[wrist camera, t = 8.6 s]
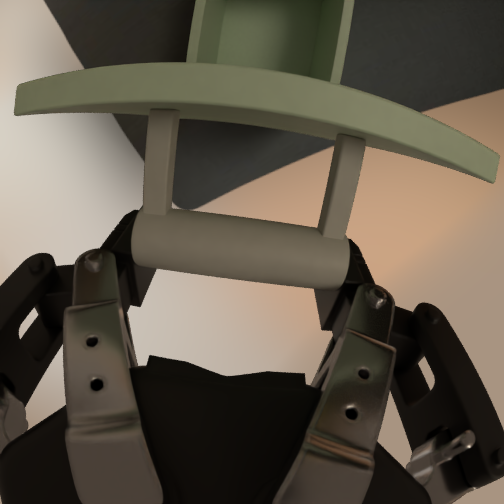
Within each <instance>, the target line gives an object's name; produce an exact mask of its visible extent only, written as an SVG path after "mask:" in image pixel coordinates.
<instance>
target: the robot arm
mask: <svg viewBox="0 0 504 504" xmlns="http://www.w3.org/2000/svg"><path fill="white" fill-rule="evenodd" d="M142 207H143V206H142ZM142 207H141V208H142ZM141 208H140V209H141ZM139 211H140V210H133V211H131V212H130V213H128V214H126V215H125V216H124V217H123V218H122V220H121V221H120V222H119V224H118V225H117V226H116V227H115V229H114V230H113V231H112V232H111V234H110V235H109V236H108V238H107V239H106V240H105V242H104V243H103V244H102V246H101V247H100V248H98V249H92V250H89V251H86V252H85V253H83V254H81V255H80V256H79V257H78V258H77V260H76V262H75V264H73V265H62V266H56V264H55V261H54V258H53V257H52V255H50V254H48V253H38V254H35V255H32V256H31V257H29V258H27V259H26V260H25V261H24V262H23V263H22V264H21V265H20V266H19V267H18V268H17V269H16V270H15V271H14V272H13V273H12V274H11V275H10V276H9V277H8V278H7V279H6V280H5V282H4V283H3V284H2V285H1V286H0V496H1V501H2V504H452V503H453V502H455V501H456V500H458V499H459V498H461V497H462V496H463V495H465V494H466V493H468V492H470V491H473V490H475V489H478V488H480V487H482V486H485V485H487V484H489V483H491V482H493V481H496V480H498V479H500V478H501V477H503V476H504V430H503V427H502V425H501V423H500V420H499V418H498V415H497V413H496V410H495V408H494V406H493V404H492V401H491V399H490V397H489V395H488V393H487V391H486V389H485V387H484V385H483V383H482V381H481V378H480V377H479V375H478V373H477V371H476V369H475V367H474V365H473V363H472V361H471V359H470V358H469V356H468V354H467V352H466V351H465V349H464V347H463V345H462V343H461V342H460V340H459V338H458V337H457V335H456V333H455V332H454V330H453V328H452V327H451V326H450V323H449V322H448V320H447V319H446V317H445V316H444V315H443V313H442V312H441V311H440V310H439V309H438V308H437V307H435V306H434V305H432V304H429V303H420V304H418V305H417V306H416V308H415V309H414V311H413V312H412V311H409V310H406V309H403V308H400V307H397V306H395V301H394V299H393V297H392V295H391V294H390V293H389V292H388V291H387V290H386V289H384V288H383V287H381V286H379V285H376V284H375V282H374V280H373V278H372V276H371V273H370V271H369V269H368V266H367V264H365V260H364V258H363V257H362V253H361V251H360V249H359V247H358V246H357V245H356V244H355V243H354V242H353V241H352V240H351V239H348V241H349V248H350V258H349V266H348V271H347V275H346V278H345V280H344V282H343V284H342V286H341V287H340V288H339V289H337V290H335V291H332V290H322V289H314V292H315V298H316V302H317V308H318V314H319V319H320V324H321V330H327V331H332V333H333V337H332V339H331V340H330V342H329V344H328V347H327V349H326V352H325V355H324V356H323V359H322V361H321V363H320V366H319V368H318V370H317V373H316V375H315V377H314V379H313V381H312V383H311V385H306V382H305V373H286V372H270V371H266V372H259V373H252V374H244V375H236V376H224V375H220V374H218V373H215V372H212V371H209V370H207V369H204V368H201V367H199V366H196V365H194V364H191V363H189V362H185V361H179V360H173V359H167V358H162V357H157V356H152V355H150V356H149V358H148V362H147V365H146V366H138V363H137V359H136V355H135V350H134V345H133V340H132V335H131V329H130V324H129V318H128V314H127V312H128V309H129V307H130V305H132V306H137V307H141V305H142V302H143V300H144V297H145V295H146V292H147V290H148V288H149V285H150V283H151V281H152V278H153V276H154V274H155V272H156V269H157V268H150V267H144V266H139V265H137V264H136V263H135V262H134V260H133V257H132V251H131V238H132V230H133V226H134V222H135V219H136V216H137V214H138V212H139ZM34 307H35V309H36V311H37V313H38V316H37V318H36V319H35V320H34V322H33V323H32V324H31V326H30V327H29V328H28V330H27V331H26V332H25V334H24V335H23V337H22V338H21V339H20V338H19V328H20V325H21V324H22V322H23V321H24V320H25V318H26V317H27V316H28V315H29V313H30V312H31V310H32V309H33V308H34ZM62 344H63V367H64V384H65V397H66V405H65V406H64V407H62V408H61V409H59V410H58V411H56V412H55V413H53V414H52V415H50V416H49V417H47V418H46V419H44V420H43V421H41V422H40V423H38V424H36V425H35V426H33V427H32V428H30V429H29V430H27V429H28V422H27V420H26V411H25V407H26V405H27V403H28V401H29V399H30V398H31V396H32V394H33V392H34V390H35V389H36V387H37V385H38V383H39V382H40V380H41V378H42V376H43V375H44V373H45V371H46V370H47V368H48V367H49V365H50V363H51V362H52V360H53V358H54V357H55V355H56V354H57V352H58V351H59V349H60V347H61V346H62ZM424 356H425V358H426V360H427V362H428V364H429V366H430V368H431V370H432V372H433V374H434V378H435V384H434V387H433V388H432V390H431V391H430V389H429V387H428V384H427V382H426V380H425V377H424V375H423V373H422V371H421V369H420V367H419V365H418V363H419V361H420V360H421V359H422V358H423V357H424ZM389 391H391V394H392V396H393V399H394V402H395V404H396V407H397V410H398V413H399V415H400V418H401V421H402V424H403V427H404V429H405V432H406V435H407V438H408V441H409V444H410V447H411V450H412V455H411V460H410V462H409V463H408V464H407V466H406V469H405V468H404V467H403V466H402V465H401V464H400V463H399V462H398V461H397V460H396V459H394V457H392V456H391V455H390V454H389V453H388V452H387V451H386V450H385V449H384V448H383V447H382V446H381V445H380V444H379V443H378V442H377V439H378V436H379V432H380V429H381V425H382V421H383V417H384V413H385V409H386V405H387V401H388V396H389ZM22 433H23V434H22Z"/></svg>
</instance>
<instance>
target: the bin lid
mask: <svg viewBox="0 0 504 504" xmlns="http://www.w3.org/2000/svg"><path fill="white" fill-rule="evenodd" d="M85 112H86V113H92V112H93V113H121V114H138V115H149V119H148V129H147V139H146V151H145V166H144V185H143V207H142V208H141V209H140V211H139V212H138V214H137V216H136V219H135V222H134V226H133V230H132V238H131V251H132V257H133V260H134V262H135V263H136V264H137V265H139V266H144V267H150V268H157V269H164V270H171V271H177V272H184V273H191V274H199V275H206V276H214V277H221V278H228V279H236V280H245V281H252V282H260V283H270V284H277V285H286V286H295V287H304V288H313V289H322V290H332V291H335V290H337V289H339V288H340V287H341V286H342V284H343V282H344V280H345V278H346V275H347V271H348V266H349V258H350V248H349V241H348V238H347V236H346V235H345V233H346V229H347V225H348V222H349V218H350V214H351V210H352V205H353V202H354V198H355V193H356V189H357V184H358V180H359V176H360V171H361V166H362V161H363V157H364V151H365V146H368V147H372V148H377V149H382V150H386V151H390V152H394V153H398V154H402V155H406V156H410V157H413V158H417V159H421V160H424V161H428V162H431V163H434V164H438V165H441V166H444V167H447V168H450V169H454V170H456V171H459V172H462V173H465V174H468V175H471V176H473V177H476V178H479V179H482V180H484V181H487V182H489V183H494V182H495V179H496V174H497V169H498V164H499V159H500V156H499V154H498V153H496V152H494V151H493V150H491V149H490V148H488V147H486V146H484V145H483V144H481V143H480V142H478V141H476V140H474V139H472V138H471V137H469V136H467V135H465V134H463V133H461V132H460V131H458V130H456V129H454V128H452V127H450V126H448V125H446V124H444V123H442V122H440V121H438V120H435V119H433V118H431V117H429V116H427V115H424V114H422V113H420V112H417V111H415V110H413V109H410V108H408V107H405V106H403V105H400V104H398V103H395V102H392V101H390V100H387V99H384V98H381V97H378V96H375V95H372V94H369V93H366V92H363V91H360V90H357V89H353V88H350V87H346V86H343V85H339V84H335V83H332V82H328V81H324V80H320V79H315V78H311V77H306V76H302V75H297V74H291V73H286V72H280V71H274V70H268V69H261V68H254V67H246V66H236V65H225V64H211V63H186V62H163V63H138V64H125V65H114V66H105V67H97V68H90V69H84V70H78V71H72V72H67V73H62V74H57V75H53V76H48V77H45V78H40V79H36V80H33V81H29V82H25V83H22V84H19V85H18V86H17V90H16V98H15V108H14V115H15V116H21V115H31V114H47V113H85ZM179 118H182V119H198V120H210V121H220V122H230V123H239V124H246V125H254V126H261V127H267V128H274V129H280V130H286V131H291V132H297V133H302V134H307V135H312V136H316V137H321V138H326V139H330V140H336V141H335V146H334V152H333V157H332V162H331V167H330V172H329V177H328V182H327V187H326V192H325V197H324V201H323V205H322V210H321V215H320V219H319V223H318V227H317V228H315V227H308V226H302V225H295V224H289V223H282V222H275V221H267V220H261V219H253V218H246V217H239V216H231V215H223V214H215V213H207V212H198V211H190V210H182V209H173V208H172V207H171V206H172V191H173V177H174V165H175V154H176V144H177V135H178V126H179Z"/></svg>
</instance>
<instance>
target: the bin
mask: <svg viewBox="0 0 504 504" xmlns="http://www.w3.org/2000/svg"><path fill="white" fill-rule="evenodd" d="M353 6H354V0H196V2H195V8H194V13H193V19H192V25H191V31H190V38H189V44H188V51H187V59H186V63H211V64H225V65H236V66H246V67H254V68H261V69H268V70H274V71H280V72H286V73H291V74H297V75H302V76H306V77H311V78H315V79H320V80H324V81H328V82H332V83H335V84H339V85H340V80H341V75H342V70H343V65H344V59H345V54H346V48H347V43H348V37H349V31H350V25H351V19H352V12H353Z"/></svg>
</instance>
